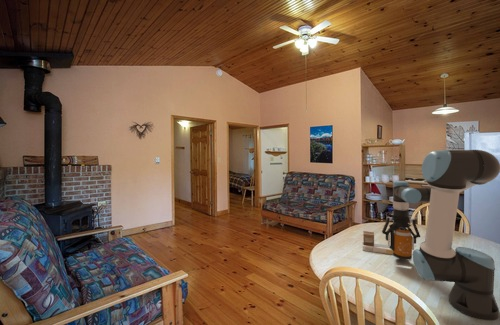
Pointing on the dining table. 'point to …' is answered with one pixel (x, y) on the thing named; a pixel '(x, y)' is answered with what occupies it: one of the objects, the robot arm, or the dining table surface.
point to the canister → (401, 241)
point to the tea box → (368, 238)
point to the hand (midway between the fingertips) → (400, 247)
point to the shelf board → (378, 248)
